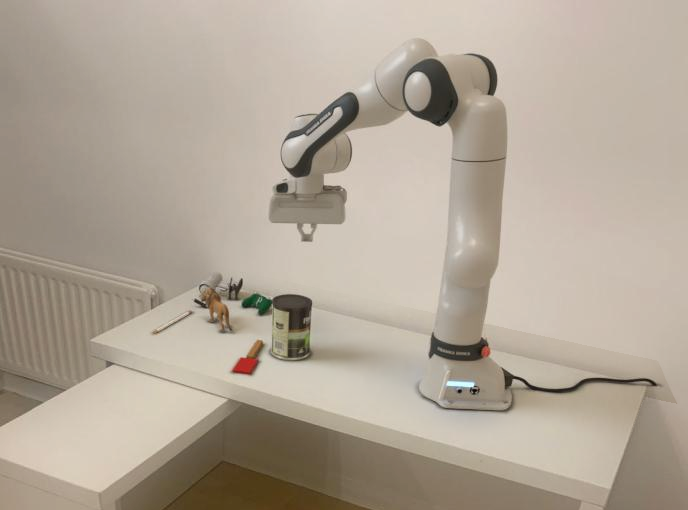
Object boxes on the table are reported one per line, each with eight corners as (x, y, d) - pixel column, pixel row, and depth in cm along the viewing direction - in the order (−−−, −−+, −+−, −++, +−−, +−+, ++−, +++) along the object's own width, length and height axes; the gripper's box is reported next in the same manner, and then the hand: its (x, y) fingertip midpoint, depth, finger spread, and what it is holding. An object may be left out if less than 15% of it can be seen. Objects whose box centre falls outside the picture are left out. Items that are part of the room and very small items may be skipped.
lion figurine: (197, 317, 215) (196, 287, 210) (213, 314, 218) (213, 283, 212) (225, 335, 206) (224, 303, 200) (241, 331, 208) (241, 299, 203)
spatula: (268, 345, 201) (268, 341, 201) (250, 374, 186) (250, 370, 185) (251, 343, 202) (251, 338, 201) (232, 372, 187) (232, 367, 186)
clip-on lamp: (221, 320, 222) (246, 289, 233) (220, 302, 217) (246, 271, 228) (185, 310, 224) (212, 280, 235) (184, 291, 219) (211, 261, 230)
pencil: (191, 313, 218) (191, 311, 218) (154, 334, 204) (154, 332, 204) (189, 312, 218) (189, 310, 218) (152, 333, 204) (152, 331, 204)
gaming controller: (266, 320, 221) (277, 303, 221) (259, 313, 217) (270, 296, 218) (246, 310, 226) (257, 294, 226) (239, 304, 223) (250, 287, 223)
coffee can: (312, 347, 201) (315, 296, 193) (305, 362, 193) (308, 310, 185) (275, 342, 203) (277, 291, 195) (266, 357, 195) (267, 305, 186)
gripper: (348, 184, 194) (347, 240, 200) (271, 183, 197) (272, 238, 204) (345, 186, 188) (344, 244, 195) (266, 186, 192) (267, 242, 198)
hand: (307, 241), depth 199 cm, fingers closed
